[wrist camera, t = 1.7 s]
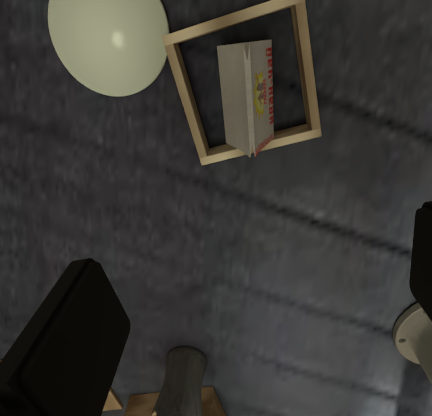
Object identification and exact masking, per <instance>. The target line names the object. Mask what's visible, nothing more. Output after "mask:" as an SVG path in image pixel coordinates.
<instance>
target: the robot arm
mask: <svg viewBox="0 0 432 416" xmlns="http://www.w3.org/2000/svg"><path fill="white" fill-rule="evenodd" d="M409 283H410V289H411V292H412V294H413V296H414V297H415V299H416V300H417V301H418V303H416V304H414V305H413V306H411V307H410V308H409V309H408V310H406V311H405V312H404V313H403V314H402V315H401V316H400V317H399V319H398V321H397V322H396V324H395V326H394V329H393V341H394V344H395V345H396V347H397V349H398V351H399V352H400V354H401V355H402V356H403V357H405V358H406V359H407V360H409V361H412V362H414V363H417V364H420V365H421V366H422V368H423V370H424V372H425V373H426V375H427V377H428V379H429V381H430V382H431V384H432V201H429V202H425V203H424V204H423V205H422V208H420V209H417V211H416V215H415V226H414V237H413V248H412V259H411V270H410V281H409ZM129 332H130V321H129V318H128V316H127V314H126V312H125V311H124V309H123V307H122V305H121V303H120V301H119V299H118V297H117V295H116V293H115V291H114V289H113V287H112V285H111V283H110V282H109V280H108V278H107V276H106V274H105V272H104V270H103V268H102V266H101V264H100V263H99V262H95V261H94V260H93V259H91V258H88V259H82V260H76V261H72V262H71V263H70V264H69V266H68V267H67V268H66V270H65V271H64V273H63V274H62V276H61V277H60V278H59V280H58V281H57V283H56V284H55V286H54V287H53V288H52V290H51V291H50V293H49V294H48V295H47V297H46V298H45V300H44V301H43V303H42V304H41V305H40V307H39V308H38V310H37V311H36V313H35V314H34V315H33V317H32V318H31V320H30V321H29V322H28V324H27V325H26V327H25V328H24V330H23V331H22V332H21V334H20V335H19V337H18V338H17V340H16V341H15V342H14V344H13V345H12V347H11V348H10V349H9V351H8V352H7V354H6V355H5V357H4V358H3V359H2V361H1V362H0V416H101V414H102V411H103V408H104V405H105V402H106V400H107V397H108V394H109V391H110V388H111V385H112V382H113V379H114V376H115V373H116V370H117V367H118V364H119V361H120V359H121V356H122V353H123V350H124V347H125V344H126V341H127V338H128V335H129Z"/></svg>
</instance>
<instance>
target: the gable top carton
mask: <svg viewBox="0 0 432 416" xmlns="http://www.w3.org/2000/svg"><path fill="white" fill-rule="evenodd" d="M217 52H218V63H219V73H220V84H221V94H222V105H223V115H224V125H225V136H226V143H227V144H229V145H231V146H233V147H235V148H237V149H239V150H241V151H242V152H244V153H245V154H247V155H248V156H249V157H250V156H251V148H252V146H253V150H254V154H255V158H256V156H257V154H258V153H259V151H260V150H261V149H262V148H263V147H265V146H266V145H267V144H268V143H269V142H270V141H272V140H273V139H274V126H273V82H272V40H261V41H253V42H245V43H237V44H229V45H221V46H217Z"/></svg>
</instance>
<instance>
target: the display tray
mask: <svg viewBox="0 0 432 416" xmlns="http://www.w3.org/2000/svg"><path fill="white" fill-rule="evenodd" d="M159 393H160V392H157V393H148V394H139V395H130V398H129V401H128V405H127V408H126V411H125V415H124V416H151V413H152V411H153V408H154V406H155V403H156V401H157V398H158V396H159ZM201 395H202V410H203V416H226V415H225V413H224V410H223V408H222V406H221V404H220V402H219V399H218V397H217V395H216V393H215V390H214V388H213V386H211V387H202V388H201Z"/></svg>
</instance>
